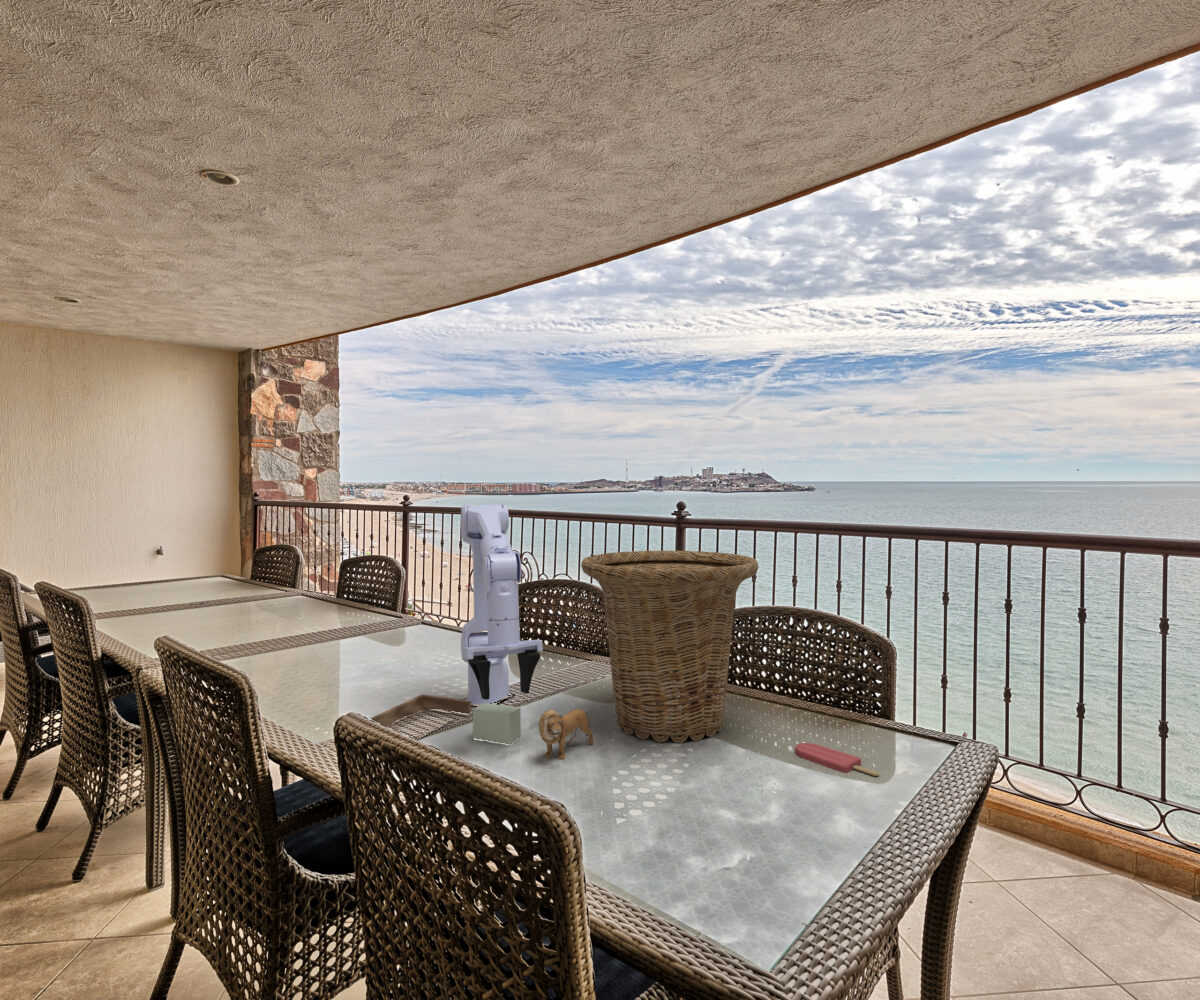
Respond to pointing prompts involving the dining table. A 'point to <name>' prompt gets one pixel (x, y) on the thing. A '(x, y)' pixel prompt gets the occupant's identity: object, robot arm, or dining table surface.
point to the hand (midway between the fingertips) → (505, 695)
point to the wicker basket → (669, 637)
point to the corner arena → (421, 708)
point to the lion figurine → (562, 729)
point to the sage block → (497, 723)
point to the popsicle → (831, 758)
